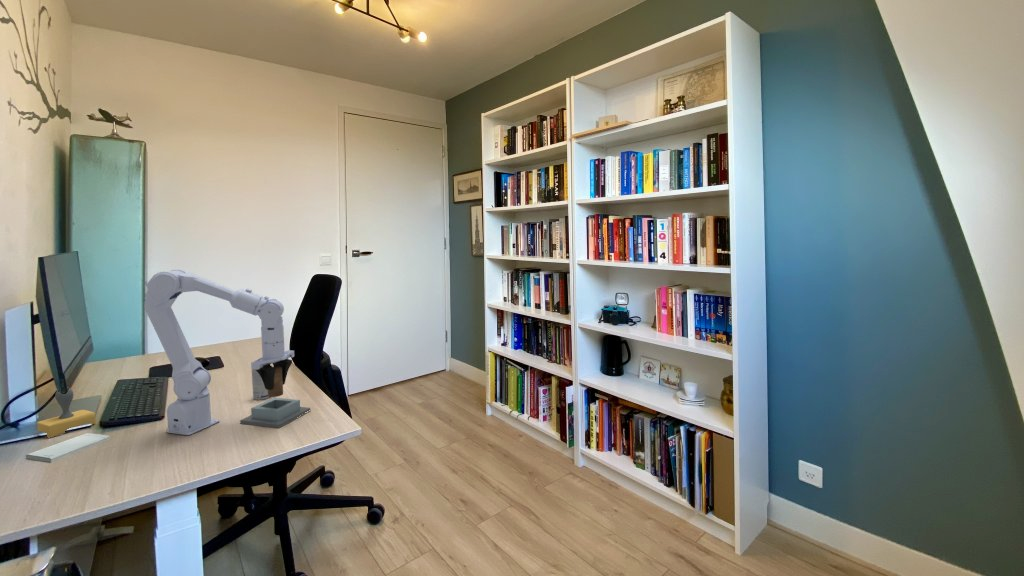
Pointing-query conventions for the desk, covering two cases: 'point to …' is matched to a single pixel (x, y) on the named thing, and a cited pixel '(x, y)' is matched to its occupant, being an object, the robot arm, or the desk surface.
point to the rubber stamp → (65, 417)
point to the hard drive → (67, 447)
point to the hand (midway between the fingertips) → (275, 386)
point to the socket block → (275, 413)
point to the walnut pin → (277, 383)
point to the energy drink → (258, 387)
